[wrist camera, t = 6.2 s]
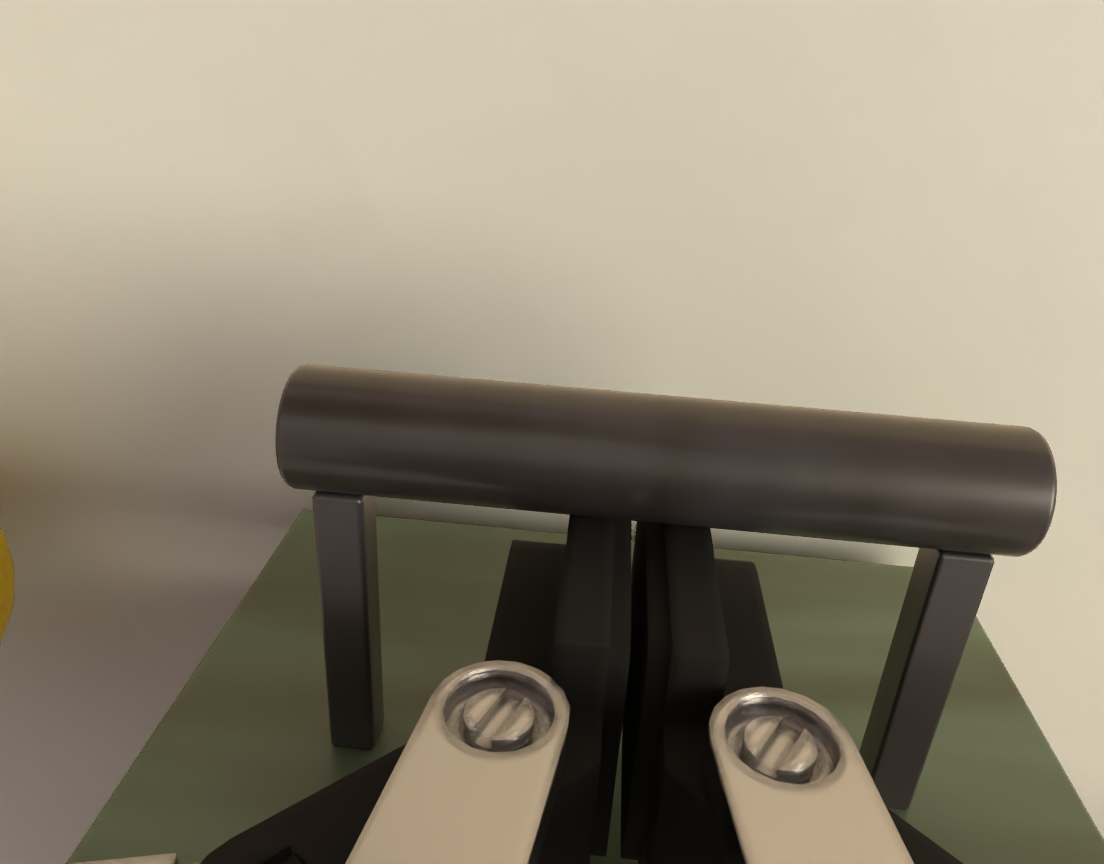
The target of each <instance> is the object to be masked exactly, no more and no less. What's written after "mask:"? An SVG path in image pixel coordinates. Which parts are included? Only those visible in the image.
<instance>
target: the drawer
mask: <svg viewBox="0 0 1104 864" xmlns="http://www.w3.org/2000/svg"><path fill="white" fill-rule="evenodd" d="M276 456H277V463H278V468H279V471H280V474H281V477H282V479H283V480H284V482H285V483H286V484H287V485H289V486H291V487H292V488H295V489H304V490H315V492H314V494H313V496H312V501H313V510H309V509H304V510H302V512H301V513H300V515H299V516H298V518H297V519H296V521H295V522H294V524H293V525H292V527H291V528H290V530H289V531H288V533H287V534H286V536H285V537H284V539H283V540H282V542H281V543H280V545H279V546H278V548H277V549H276V551H275V552H274V554H273V555H272V557H271V558H270V560H269V561H268V563H267V564H266V566H265V567H264V569H263V570H262V572H261V573H260V575H259V576H258V578H257V579H256V581H255V582H254V584H253V585H252V587H251V588H250V590H249V591H248V593H247V594H246V596H245V597H244V599H243V600H242V601H241V603H240V604H239V606H238V607H237V609H236V610H235V612H234V613H233V615H232V616H231V618H230V619H229V621H228V622H227V624H226V625H225V627H224V628H223V630H222V631H221V633H220V634H219V636H218V637H217V639H216V640H215V642H214V643H213V645H212V646H211V648H210V649H209V651H208V652H207V654H206V655H205V657H204V658H203V660H202V661H201V663H200V664H199V666H198V667H197V669H196V670H195V672H194V673H193V675H192V676H191V678H190V679H189V681H188V682H187V684H186V685H185V687H184V688H183V690H182V691H181V693H180V694H179V696H178V697H177V699H176V700H175V702H174V703H173V705H172V706H171V708H170V709H169V711H168V712H167V714H166V715H165V717H164V718H163V720H162V721H161V723H160V724H159V725H158V727H157V728H156V730H155V731H154V733H153V734H152V736H151V737H150V739H149V740H148V742H147V743H146V745H145V746H144V748H143V749H142V751H141V752H140V754H139V755H138V757H137V758H136V760H135V761H134V763H133V764H132V766H131V767H130V769H129V770H128V772H127V773H126V775H125V776H124V778H123V779H122V781H121V782H120V784H119V785H118V787H117V788H116V790H115V791H114V793H113V794H112V796H111V797H110V799H109V800H108V802H107V803H106V805H105V806H104V808H103V809H102V811H101V812H100V814H99V815H98V817H97V818H96V820H95V821H94V823H93V824H92V826H91V827H90V829H89V830H88V832H87V833H86V835H85V836H84V838H83V839H82V841H81V842H80V844H79V845H78V847H77V848H76V849H75V851H74V852H73V854H72V855H71V857H70V858H69V860H68V861H67V863H66V864H69V863H79V862H89V861H100V860H110V859H120V858H130V857H140V856H150V855H160V854H170V853H177V856H178V861H179V864H192V863H201V862H202V860H203V859H204V858H205V857H206V856H207V855H208V854H209V853H211V852H212V851H213V850H215V849H216V848H218V847H219V846H221V845H222V844H223V843H225V842H226V841H228V840H229V839H231V838H232V837H234V836H236V835H238V834H240V833H242V832H244V831H245V830H247V829H249V828H251V827H253V826H255V825H257V824H258V823H260V822H262V821H264V820H266V819H268V818H269V817H271V816H273V815H275V814H277V813H279V812H281V811H282V810H284V809H286V808H288V807H290V806H292V805H293V804H295V803H297V802H299V801H301V800H303V799H305V798H306V797H308V796H310V795H312V794H314V793H316V792H318V791H319V790H321V789H323V788H325V787H327V786H329V785H330V784H332V783H334V782H336V781H338V780H340V779H342V778H343V777H345V776H347V775H349V774H351V773H353V772H355V771H356V770H358V769H360V768H362V767H364V766H366V765H367V764H369V763H371V762H373V761H375V760H377V759H379V758H380V757H382V756H384V755H386V754H388V753H390V752H392V751H393V750H395V749H397V748H399V747H401V746H403V745H404V744H406V743H407V742H408V740H409V738H410V736H411V734H412V733H413V731H414V729H415V727H416V725H417V723H418V721H419V719H420V717H421V715H422V713H423V711H424V709H425V707H426V705H427V703H428V701H429V699H430V697H431V695H432V694H433V692H434V691H435V690H436V688H437V687H438V686H439V685H440V683H441V682H442V681H443V680H444V679H445V678H447V677H448V676H450V675H451V674H453V673H454V672H455V671H457V670H458V669H461V668H464V667H467V666H469V665H472V664H475V663H478V662H484V661H485V657H486V652H487V648H488V644H489V639H490V635H491V630H492V626H493V622H494V617H495V613H496V608H497V604H498V600H499V595H500V591H501V586H502V582H503V578H504V573H505V569H506V564H507V560H508V556H509V551H510V547H511V544H512V541H513V540H525V541H536V542H547V543H557V544H566V542H567V534H560V533H550V532H539V531H529V530H518V529H508V528H497V527H487V526H476V525H466V524H455V523H445V522H435V521H424V520H414V519H403V518H393V517H382V516H376V504H375V496H378V497H389V498H399V499H410V500H421V501H431V502H442V503H452V504H463V505H473V506H484V507H495V508H505V509H516V510H526V511H537V512H548V513H558V514H569V515H579V516H590V517H601V518H611V519H622V520H632V521H643V522H653V523H664V524H675V525H685V526H696V527H706V528H717V529H728V530H738V531H749V532H759V533H770V534H781V535H791V536H802V537H812V538H823V539H833V540H844V541H855V542H865V543H876V544H886V545H897V546H908V547H918V548H919V551H918V555H917V558H916V561H915V565H914V567H905V566H895V565H884V564H874V563H863V562H853V561H842V560H832V559H821V558H811V557H800V556H790V555H780V554H769V553H759V552H748V551H738V550H727V549H717V548H713V550H714V557H715V558H719V559H730V560H741V561H752V562H753V563H754V564H755V566H756V569H757V573H758V577H759V582H760V586H761V591H762V595H763V600H764V604H765V608H766V613H767V617H768V622H769V626H770V631H771V635H772V640H773V644H774V649H775V653H776V658H777V662H778V667H779V671H780V675H781V680H782V684H783V689H785V690H788V691H791V692H795V693H798V694H801V695H804V696H806V697H808V698H809V699H811V700H813V701H815V702H817V703H818V704H820V705H822V706H824V707H825V708H826V709H827V710H828V711H830V712H831V713H832V714H833V715H834V716H835V717H837V718H838V719H839V720H840V721H841V723H842V724H843V725H844V727H845V728H846V730H847V731H848V733H849V734H850V736H851V737H852V739H853V741H854V743H855V745H856V747H857V749H858V751H859V753H860V755H861V757H862V759H863V761H864V763H865V765H866V767H867V769H868V771H869V773H870V775H871V777H872V779H873V781H874V784H875V786H876V788H877V790H878V792H879V794H880V796H881V798H882V800H883V802H884V804H885V806H886V807H887V808H888V809H890V810H891V811H892V812H894V813H895V814H897V815H898V816H899V817H901V818H902V819H903V820H905V821H906V822H907V823H909V824H910V825H912V826H913V827H914V828H916V829H917V830H918V831H920V832H921V833H922V834H924V835H925V836H927V837H928V838H929V839H931V840H932V841H933V842H935V843H936V844H937V845H939V846H940V847H942V848H943V849H944V850H946V851H947V852H948V853H950V854H951V855H952V856H954V857H955V858H957V859H958V860H959V861H961V862H962V863H963V864H1104V839H1103V838H1102V836H1101V834H1100V832H1099V831H1098V829H1097V827H1096V825H1095V824H1094V822H1093V820H1092V818H1091V817H1090V815H1089V813H1088V811H1087V810H1086V808H1085V806H1084V804H1083V803H1082V801H1081V799H1080V797H1079V796H1078V794H1077V792H1076V790H1075V789H1074V787H1073V785H1072V783H1071V782H1070V780H1069V778H1068V776H1067V775H1066V773H1065V771H1064V769H1063V768H1062V766H1061V764H1060V762H1059V761H1058V759H1057V757H1056V755H1055V754H1054V752H1053V750H1052V748H1051V747H1050V745H1049V743H1048V741H1047V740H1046V738H1045V736H1044V734H1043V733H1042V731H1041V729H1040V727H1039V726H1038V724H1037V722H1036V720H1035V719H1034V717H1033V715H1032V713H1031V712H1030V710H1029V708H1028V706H1027V705H1026V703H1025V701H1024V699H1023V698H1022V696H1021V694H1020V692H1019V691H1018V689H1017V687H1016V685H1015V684H1014V682H1013V680H1012V678H1011V677H1010V675H1009V673H1008V671H1007V670H1006V668H1005V666H1004V664H1003V663H1002V661H1001V659H1000V657H999V656H998V654H997V652H996V650H995V649H994V647H993V645H992V643H991V642H990V640H989V638H988V636H987V635H986V633H985V631H984V629H983V628H982V626H981V624H980V622H979V620H978V619H977V617H976V613H977V611H978V608H979V605H980V602H981V599H982V596H983V593H984V590H985V587H986V585H987V582H988V579H989V576H990V573H991V570H992V567H993V564H994V558H993V557H992V555H1003V556H1013V557H1018V556H1022V555H1026V554H1028V553H1030V552H1032V551H1033V550H1034V549H1036V548H1037V547H1038V546H1039V544H1040V543H1041V542H1042V540H1043V539H1044V537H1045V535H1046V533H1047V531H1048V529H1049V526H1050V524H1051V520H1052V517H1053V513H1054V509H1055V502H1056V493H1057V478H1056V468H1055V463H1054V458H1053V455H1052V452H1051V449H1050V447H1049V445H1048V443H1047V442H1046V440H1045V439H1044V437H1043V436H1042V435H1041V434H1040V433H1038V432H1037V431H1035V430H1033V429H1031V428H1028V427H1023V426H1011V425H1000V424H988V423H977V422H965V421H954V420H942V419H931V418H919V417H907V416H896V415H884V414H873V413H861V412H850V411H838V410H827V409H815V408H804V407H792V406H781V405H769V404H758V403H746V402H735V401H723V400H712V399H700V398H688V397H677V396H665V395H654V394H642V393H631V392H619V391H608V390H596V389H585V388H573V387H562V386H550V385H539V384H527V383H516V382H504V381H493V380H481V379H469V378H458V377H446V376H435V375H423V374H412V373H400V372H389V371H377V370H366V369H354V368H343V367H331V366H320V365H308V364H307V365H303V366H300V367H298V368H296V369H295V370H294V371H293V372H292V374H291V375H290V377H289V379H288V381H287V383H286V385H285V388H284V390H283V393H282V397H281V400H280V404H279V409H278V414H277V422H276ZM634 542H635V541H633V540H631V568H632V560H633V551H634ZM991 554H992V555H991ZM621 767H622V731H621V739H620V747H619V756H618V764H617V772H616V780H615V788H614V797H613V805H612V813H611V821H610V829H609V837H608V846H607V853H606V857H604V856H595V855H590V864H638V860H631V859H622V858H621V855H620V838H621Z"/></svg>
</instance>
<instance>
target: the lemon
mask: <svg viewBox="0 0 1104 864" xmlns="http://www.w3.org/2000/svg"><path fill="white" fill-rule="evenodd" d="M13 600H14V570H13V561H12V558H11V555H10V551H9V548H8V545H7V542H6V539H5V537H4V534H3V532H2V531H1V529H0V643H1V640H2V637H3V634H4V632H5V629H6V626H7V623H8V620H9V617H10V614H11V611H12V607H13Z"/></svg>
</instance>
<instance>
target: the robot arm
mask: <svg viewBox="0 0 1104 864" xmlns="http://www.w3.org/2000/svg"><path fill="white" fill-rule="evenodd" d="M621 731H622V767H621V838H620V855H621V858H622V859H631V860H638V864H963V863H962V862H961V861H959V860H958V859H957V858H955V857H954V856H952V855H951V854H950V853H948V852H947V851H946V850H944V849H943V848H942V847H940V846H939V845H937V844H936V843H935V842H933V841H932V840H931V839H929V838H928V837H927V836H925V835H924V834H922V833H921V832H920V831H918V830H917V829H916V828H914V827H913V826H912V825H910V824H909V823H907V822H906V821H905V820H903V819H902V818H901V817H899V816H898V815H897V814H895V813H894V812H892V811H891V810H890V809H888V808H887V807H886V806H885V804H884V802H883V800H882V798H881V796H880V794H879V792H878V790H877V788H876V786H875V784H874V781H873V779H872V777H871V775H870V773H869V771H868V769H867V767H866V765H865V763H864V761H863V759H862V757H861V755H860V753H859V751H858V749H857V747H856V745H855V743H854V741H853V739H852V737H851V736H850V734H849V733H848V731H847V730H846V728H845V727H844V725H843V724H842V723H841V721H840V720H839V719H838V718H837V717H835V716H834V715H833V714H832V713H831V712H830V711H828V710H827V709H826V708H825V707H824V706H822V705H820V704H818V703H817V702H815V701H813V700H811V699H809V698H808V697H806V696H804V695H801V694H798V693H795V692H791V691H788V690H785V689H783V684H782V680H781V675H780V671H779V667H778V662H777V658H776V653H775V649H774V644H773V640H772V635H771V631H770V626H769V622H768V617H767V613H766V608H765V604H764V600H763V595H762V591H761V586H760V582H759V577H758V573H757V569H756V566H755V564H754V563H753V562H752V561H741V560H730V559H719V558H715V557H714V550H713V544H712V537H711V530H710V528H706V527H696V526H685V525H675V524H664V523H653V522H643V521H637V525H636V534H635V542H634V551H633V560H632V568H631V520H622V519H611V518H601V517H590V516H579V515H570V518H569V526H568V534H567V542H566V544H557V543H547V542H536V541H525V540H513V541H512V544H511V547H510V551H509V556H508V560H507V564H506V569H505V573H504V578H503V582H502V586H501V591H500V595H499V600H498V604H497V608H496V613H495V617H494V622H493V626H492V630H491V635H490V639H489V644H488V648H487V652H486V657H485V661H484V662H478V663H475V664H472V665H469V666H467V667H464V668H461V669H458V670H457V671H455V672H454V673H453V674H451V675H450V676H448V677H447V678H445V679H444V680H443V681H442V682H441V683H440V685H439V686H438V687H437V688H436V690H435V691H434V692H433V694H432V695H431V697H430V699H429V701H428V703H427V705H426V707H425V709H424V711H423V713H422V715H421V717H420V719H419V721H418V723H417V725H416V727H415V729H414V731H413V733H412V734H411V736H410V738H409V740H408V742H407V743H406V744H404V745H403V746H401V747H399V748H397V749H395V750H393V751H392V752H390V753H388V754H386V755H384V756H382V757H380V758H379V759H377V760H375V761H373V762H371V763H369V764H367V765H366V766H364V767H362V768H360V769H358V770H356V771H355V772H353V773H351V774H349V775H347V776H345V777H343V778H342V779H340V780H338V781H336V782H334V783H332V784H330V785H329V786H327V787H325V788H323V789H321V790H319V791H318V792H316V793H314V794H312V795H310V796H308V797H306V798H305V799H303V800H301V801H299V802H297V803H295V804H293V805H292V806H290V807H288V808H286V809H284V810H282V811H281V812H279V813H277V814H275V815H273V816H271V817H269V818H268V819H266V820H264V821H262V822H260V823H258V824H257V825H255V826H253V827H251V828H249V829H247V830H245V831H244V832H242V833H240V834H238V835H236V836H234V837H232V838H231V839H229V840H228V841H226V842H225V843H223V844H222V845H221V846H219V847H218V848H216V849H215V850H213V851H212V852H211V853H209V854H208V855H207V856H206V857H205V858H204V859H203V860H202V862H201V863H192V864H590V855H595V856H604V857H606V853H607V846H608V837H609V829H610V821H611V813H612V805H613V797H614V788H615V780H616V772H617V764H618V756H619V747H620V739H621ZM69 864H179V861H178V856H177V853H170V854H160V855H150V856H140V857H130V858H120V859H110V860H100V861H89V862H79V863H69Z"/></svg>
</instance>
